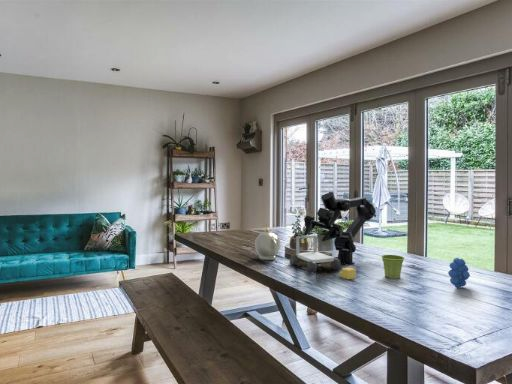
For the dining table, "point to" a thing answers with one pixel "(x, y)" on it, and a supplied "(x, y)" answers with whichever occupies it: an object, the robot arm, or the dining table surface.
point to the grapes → (458, 273)
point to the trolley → (313, 256)
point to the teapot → (267, 245)
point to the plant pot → (392, 265)
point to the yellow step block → (348, 273)
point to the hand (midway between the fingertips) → (313, 237)
